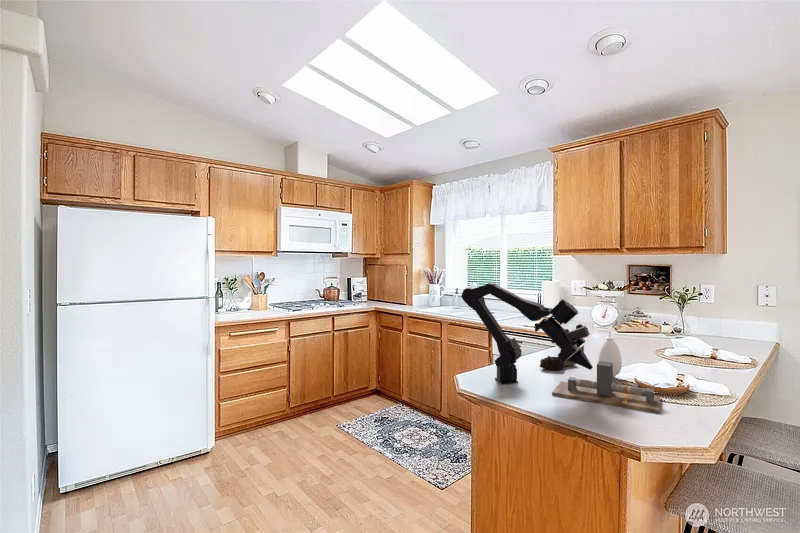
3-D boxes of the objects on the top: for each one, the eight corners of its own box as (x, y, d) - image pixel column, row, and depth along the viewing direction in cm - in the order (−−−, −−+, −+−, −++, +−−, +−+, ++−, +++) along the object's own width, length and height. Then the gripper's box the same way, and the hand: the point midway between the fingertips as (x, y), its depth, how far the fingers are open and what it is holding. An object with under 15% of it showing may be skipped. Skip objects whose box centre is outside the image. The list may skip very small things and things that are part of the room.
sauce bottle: (624, 377, 150) (623, 330, 150) (618, 382, 144) (618, 333, 144) (602, 373, 155) (601, 328, 155) (595, 378, 150) (595, 330, 149)
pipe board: (551, 395, 131) (551, 380, 131) (561, 384, 143) (561, 370, 143) (659, 413, 115) (659, 397, 114) (660, 399, 126) (660, 384, 126)
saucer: (670, 400, 126) (670, 390, 126) (624, 386, 141) (624, 377, 141) (700, 393, 133) (700, 384, 132) (653, 380, 147) (653, 372, 147)
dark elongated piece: (567, 364, 172) (567, 351, 171) (580, 368, 165) (581, 354, 165) (537, 369, 164) (537, 355, 164) (550, 373, 158) (550, 359, 158)
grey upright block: (596, 394, 128) (596, 364, 127) (599, 389, 132) (599, 361, 132) (610, 396, 125) (610, 366, 125) (612, 391, 130) (612, 362, 130)
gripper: (568, 321, 126) (607, 359, 120) (578, 314, 141) (613, 348, 135) (543, 343, 130) (579, 381, 124) (556, 334, 146) (589, 368, 140)
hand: (591, 368), depth 131 cm, fingers closed
